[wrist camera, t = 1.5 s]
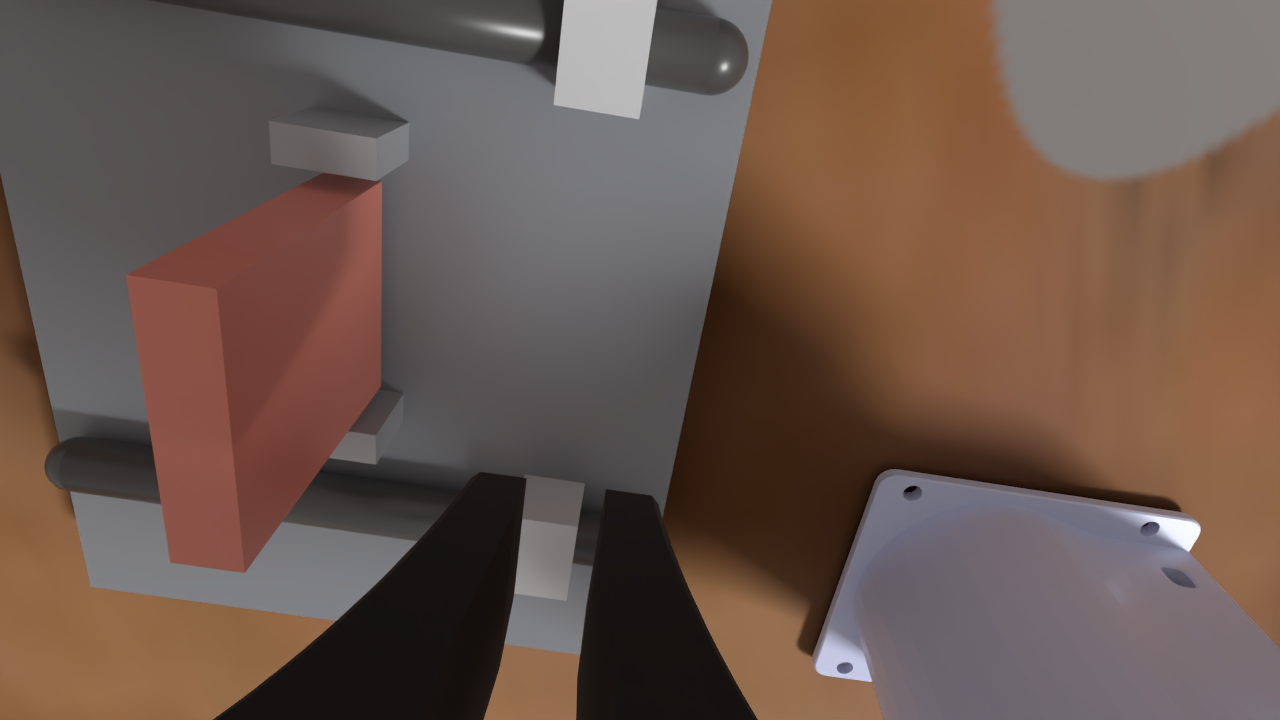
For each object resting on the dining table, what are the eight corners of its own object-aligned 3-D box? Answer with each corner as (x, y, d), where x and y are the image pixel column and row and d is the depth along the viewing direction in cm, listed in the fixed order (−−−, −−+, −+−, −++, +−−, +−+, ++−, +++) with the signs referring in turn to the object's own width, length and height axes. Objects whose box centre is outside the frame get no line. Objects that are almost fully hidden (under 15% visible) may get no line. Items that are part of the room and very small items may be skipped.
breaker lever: (381, 180, 16) (216, 289, 10) (380, 386, 18) (244, 573, 12) (325, 171, 16) (126, 275, 10) (331, 378, 18) (170, 562, 12)
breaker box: (804, -216, 15) (849, -284, 11) (634, 612, 24) (629, 719, 21) (-29, -372, 14) (-268, -498, 10) (134, 541, 24) (39, 639, 20)
